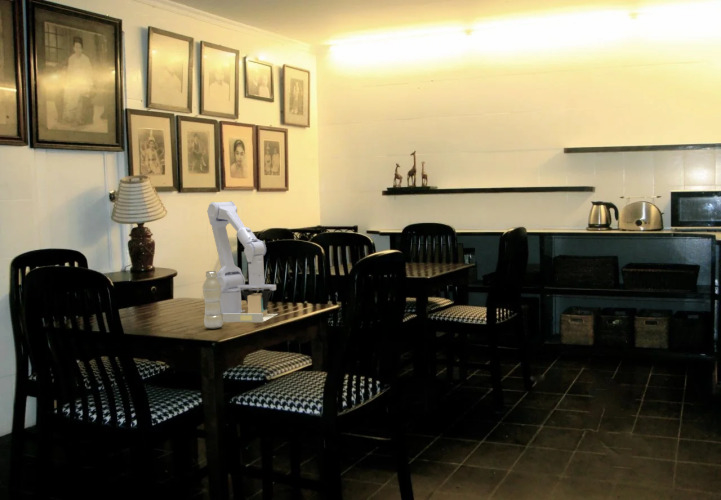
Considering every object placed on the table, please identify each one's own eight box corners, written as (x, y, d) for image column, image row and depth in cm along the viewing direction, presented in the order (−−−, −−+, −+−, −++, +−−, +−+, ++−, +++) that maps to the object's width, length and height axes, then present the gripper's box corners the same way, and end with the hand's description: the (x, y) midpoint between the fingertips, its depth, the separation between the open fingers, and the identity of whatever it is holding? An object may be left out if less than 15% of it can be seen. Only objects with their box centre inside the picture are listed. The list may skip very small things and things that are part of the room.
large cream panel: (222, 323, 265) (222, 313, 265) (241, 315, 283) (241, 306, 282) (262, 323, 262) (261, 313, 262) (278, 315, 280) (278, 306, 279)
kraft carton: (248, 317, 274) (247, 295, 273) (254, 314, 280) (254, 293, 280) (261, 317, 273) (260, 295, 272) (267, 314, 279) (266, 293, 279)
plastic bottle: (214, 326, 260) (212, 270, 259) (227, 327, 256) (224, 271, 255) (200, 329, 255) (197, 272, 254) (212, 330, 251) (209, 272, 250)
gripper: (234, 274, 273) (235, 311, 274) (271, 274, 270) (272, 311, 271) (241, 272, 280) (242, 308, 281) (277, 272, 277) (278, 308, 278)
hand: (257, 309), depth 276 cm, fingers closed on kraft carton, 5 cm apart
